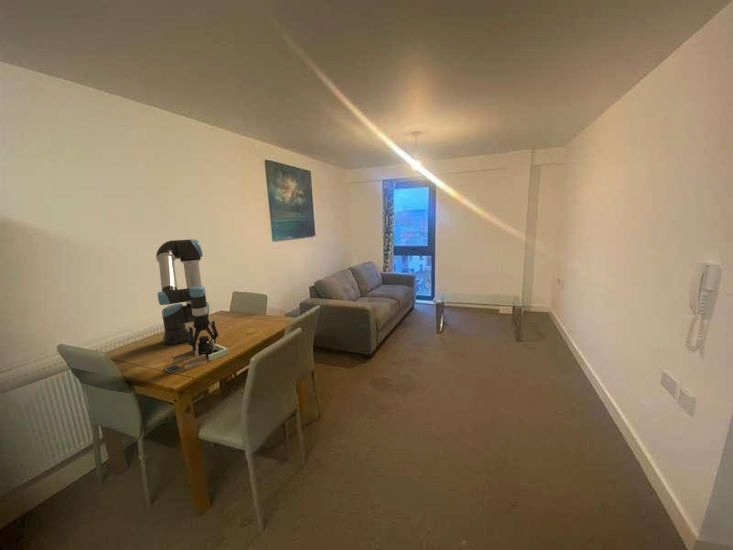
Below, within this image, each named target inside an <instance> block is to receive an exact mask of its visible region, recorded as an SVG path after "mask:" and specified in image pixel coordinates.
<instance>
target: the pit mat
mask: <svg viewBox="0 0 733 550" xmlns="http://www.w3.org/2000/svg"><path fill="white" fill-rule="evenodd" d="M183 370H184V367H180V366H179V365H178V364H173V365H170V366H168V367H167V366H166V367H164V368H163V371H165V372H166V373H168V374H170V375H172V374H174V373H177V372H179V371H183Z"/></svg>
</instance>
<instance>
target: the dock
mask: <svg viewBox="0 0 733 550" xmlns="http://www.w3.org/2000/svg"><path fill="white" fill-rule="evenodd" d="M213 351H216V352H213ZM229 354H230V350H229V348H228V347H225V346H222V345H220V344H218V343H216V344H215V350H212V354H210V355H208V357H209V359H208V361H210V362H211V361H214V360H216V359H220V358H221V357H224V356H226V355H229Z"/></svg>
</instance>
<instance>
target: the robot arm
mask: <svg viewBox="0 0 733 550" xmlns="http://www.w3.org/2000/svg"><path fill="white" fill-rule="evenodd" d="M203 256H204V255H203V250H202V247H201V244H200V241H199V240H198V239H194V238H193V239H175V240H174V239H172V240H168V241H166V242H164V243H163V244H161V245H160V246H159V247H158V250H157V251H156V257H155V259H156V262H157V263H158V267H159V275H160V277H159V278H160V285H161V287H160V288H161V291H158V292H157V299H158V301H157V302H158V304H159V305H160V306H166V305H167V306H166V307H164V308H163V309H162V310H161V313H162V315H161V317H162V321H163V322H162V323H163V327H164V329H163V330H164V332H163V337H162V342H163V345H166V346H172V345H179V344H182V343H185V342H187V345H188V346H192V349H193V351H195V355H196V357H198V356H199V353H198V343H197V342H198V340H199V335H200V333H201V332H203V331H206V332H207V334H208V335H209V336H210V338H209V341H211V346H212V350H214V351H216V350H215V344H217V343H216V339H217V338H218V337H219V333H218V331H217V327H216V324H215V323H216V321H215V320H210V319H209V317H210V303H209V301H207V296H206V288H205V286H203V285H202V280H201V272H200V271H201V270H200V265H199V263H200V261H201V259H202V257H203ZM176 259H177V260H180V262H181V263H182V264H183V268H184V269H183V270H184V278H185V283H186V284H185V285H186V288H181V289H179V288H178V283H177V276H176V275H177V274H176V269H175V268H176V267H175V261H176ZM183 303H186V305H183ZM189 323H193V325H191V326H188V327H187V326H186V324H189ZM209 325H210V327H211V329H210V327H209ZM194 329H195V330H194ZM192 349H191V350H192Z"/></svg>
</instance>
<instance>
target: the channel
mask: <svg viewBox="0 0 733 550" xmlns="http://www.w3.org/2000/svg"><path fill="white" fill-rule="evenodd" d="M172 361H173V365H175V364H177V365H178V364H180V363H182V364H183V370H184V371H189V370H191V369H194V368H197V367H200V366H202V365H204V364H206V363H208V359H206V355H205V354H203V355H201V356H196V355H195V351H193V349H190V350H186V351H184V352H180V353H177V354H174V355H172Z"/></svg>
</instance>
